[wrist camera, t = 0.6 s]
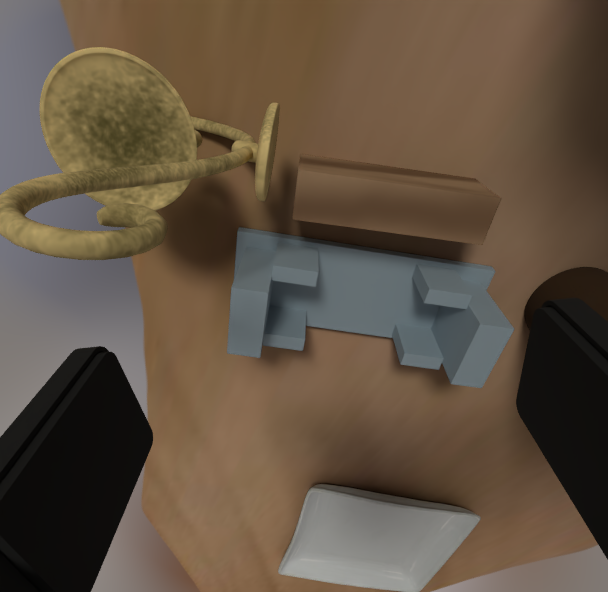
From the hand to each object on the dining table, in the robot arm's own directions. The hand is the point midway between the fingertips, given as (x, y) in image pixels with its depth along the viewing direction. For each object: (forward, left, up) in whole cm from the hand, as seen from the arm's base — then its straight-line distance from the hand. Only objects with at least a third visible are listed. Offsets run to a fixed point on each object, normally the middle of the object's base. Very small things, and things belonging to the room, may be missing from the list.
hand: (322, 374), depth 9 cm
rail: (+3, +7, -29) cm, 30 cm away
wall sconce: (0, -10, -29) cm, 31 cm away
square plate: (+61, +20, -30) cm, 71 cm away
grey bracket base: (+14, +7, -29) cm, 33 cm away
